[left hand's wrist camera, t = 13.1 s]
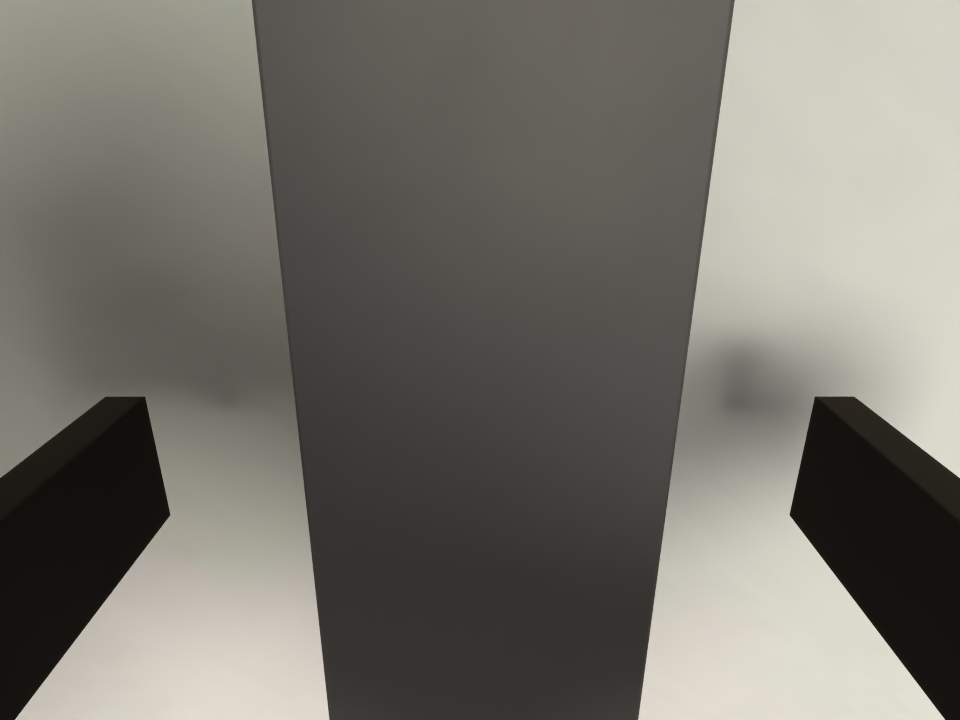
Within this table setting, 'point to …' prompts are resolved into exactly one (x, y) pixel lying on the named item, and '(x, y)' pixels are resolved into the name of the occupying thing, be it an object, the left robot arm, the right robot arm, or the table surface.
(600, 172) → the beam
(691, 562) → the table surface
